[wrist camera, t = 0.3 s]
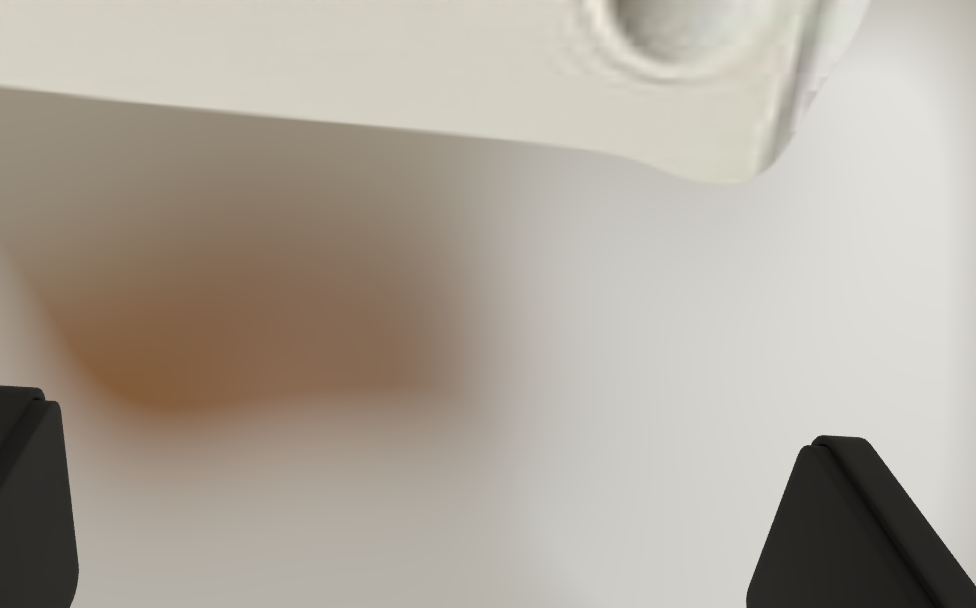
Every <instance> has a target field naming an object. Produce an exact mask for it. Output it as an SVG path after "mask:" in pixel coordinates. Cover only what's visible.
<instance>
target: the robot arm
mask: <svg viewBox="0 0 976 608" xmlns="http://www.w3.org/2000/svg"><path fill="white" fill-rule="evenodd" d="M78 567H79V565H78V556H77V548H76V540H75V530H74V522H73V512H72V504H71V495H70V486H69V477H68V470H67V460H66V451H65V443H64V434H63V425H62V417H61V410H60V406H59V404H58V402H56V401H46V400H45V396H44V394H43V392H42V390H41V389H39V388H33V387H15V386H0V608H70V606H71V603H72V601H73V598H74V595H75V592H76V588H77V582H78V574H79V568H78ZM746 605H747V608H976V586H975V585H974V583H973V582H972V581H971V579H970V578H969V577H968V575H967V574H966V572H965V571H964V570H963V568H962V567H961V566H960V564H959V563H958V562H957V560H956V559H955V558H954V556H953V555H952V554H951V552H950V551H949V550H948V548H947V547H946V545H945V544H944V543H943V541H942V540H941V539H940V537H939V536H938V535H937V533H936V532H935V531H934V529H933V528H932V527H931V525H930V524H929V522H928V521H927V520H926V519H925V517H924V516H923V514H922V513H921V512H920V510H919V509H918V508H917V506H916V505H915V504H914V502H913V501H912V500H911V498H910V497H909V495H908V494H907V493H906V491H905V490H904V489H903V487H902V486H901V485H900V483H899V482H898V481H897V479H896V478H895V477H894V476H893V474H892V473H891V471H890V470H889V468H888V467H887V466H886V465H885V463H884V462H883V460H882V459H881V458H880V456H879V455H878V454H877V452H876V451H875V450H874V448H873V447H872V446H871V444H870V443H869V442H868V441H866V440H865V439H863V438H860V437H844V436H827V435H822V436H818V437H817V438H816V439H815V440H814V441H813V442H812V444H811V445H807V446H804V447H803V448H802V449H801V450H800V452H799V454H798V456H797V459H796V462H795V464H794V467H793V470H792V473H791V475H790V478H789V480H788V483H787V486H786V489H785V491H784V494H783V497H782V499H781V502H780V505H779V507H778V510H777V513H776V515H775V518H774V521H773V523H772V526H771V529H770V531H769V534H768V537H767V540H766V542H765V545H764V548H763V550H762V553H761V555H760V558H759V561H758V564H757V566H756V569H755V572H754V574H753V577H752V580H751V582H750V585H749V588H748V592H747V598H746Z"/></svg>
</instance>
